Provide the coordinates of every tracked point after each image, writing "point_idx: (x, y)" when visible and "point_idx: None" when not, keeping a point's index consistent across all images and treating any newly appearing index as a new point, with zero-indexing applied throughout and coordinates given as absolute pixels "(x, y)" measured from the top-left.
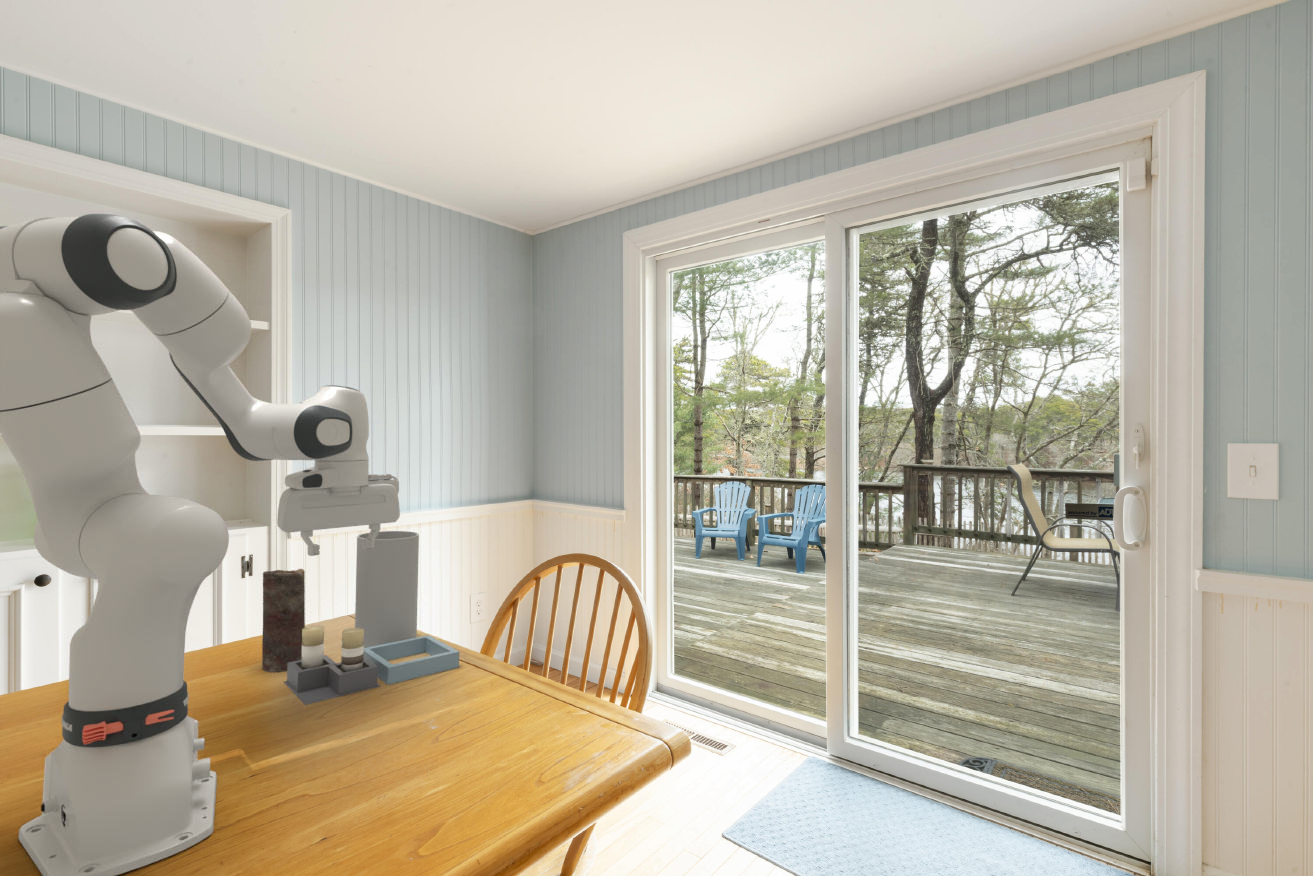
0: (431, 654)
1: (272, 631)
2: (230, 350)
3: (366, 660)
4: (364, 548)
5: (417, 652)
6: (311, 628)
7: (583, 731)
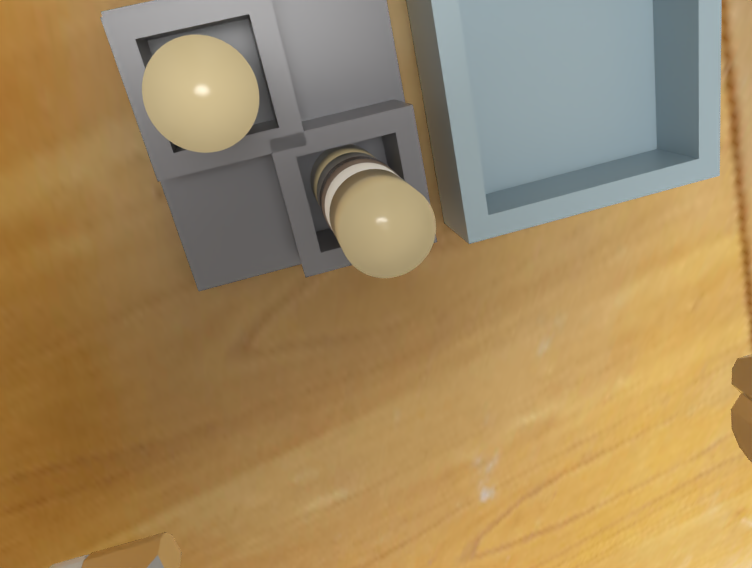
0: None
1: None
2: None
3: (413, 150)
4: (737, 388)
5: None
6: (192, 95)
7: None
